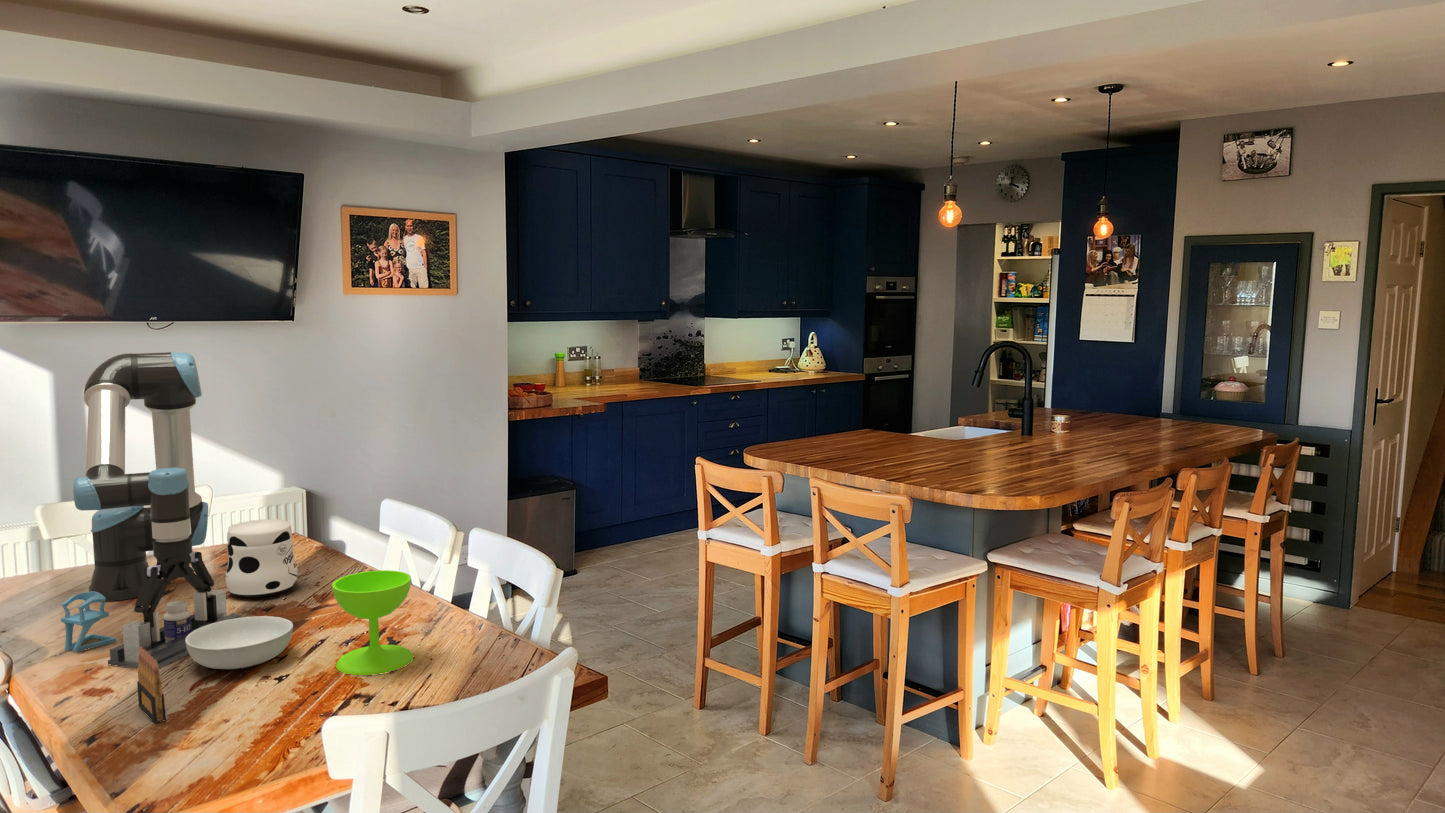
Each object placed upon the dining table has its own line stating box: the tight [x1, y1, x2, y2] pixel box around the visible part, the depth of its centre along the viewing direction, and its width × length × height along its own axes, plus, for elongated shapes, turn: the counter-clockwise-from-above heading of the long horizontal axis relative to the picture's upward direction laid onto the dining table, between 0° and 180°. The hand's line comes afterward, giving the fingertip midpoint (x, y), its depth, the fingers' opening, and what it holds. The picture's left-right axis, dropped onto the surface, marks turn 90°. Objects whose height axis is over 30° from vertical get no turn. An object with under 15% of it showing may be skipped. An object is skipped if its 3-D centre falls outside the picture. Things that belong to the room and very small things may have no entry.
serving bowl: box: [185, 615, 294, 670], centre depth 206 cm, size 21×21×7 cm
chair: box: [60, 591, 117, 653], centre depth 214 cm, size 8×8×12 cm
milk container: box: [224, 518, 299, 598], centre depth 253 cm, size 17×17×18 cm
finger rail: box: [107, 589, 241, 669], centre depth 215 cm, size 26×12×9 cm, turn 166°
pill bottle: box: [163, 600, 191, 643], centre depth 215 cm, size 5×5×9 cm
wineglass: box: [331, 569, 414, 675], centre depth 206 cm, size 16×16×18 cm
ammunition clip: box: [136, 647, 167, 724], centre depth 180 cm, size 11×2×12 cm, turn 45°
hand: (178, 630), depth 215 cm, fingers open, 13 cm apart
